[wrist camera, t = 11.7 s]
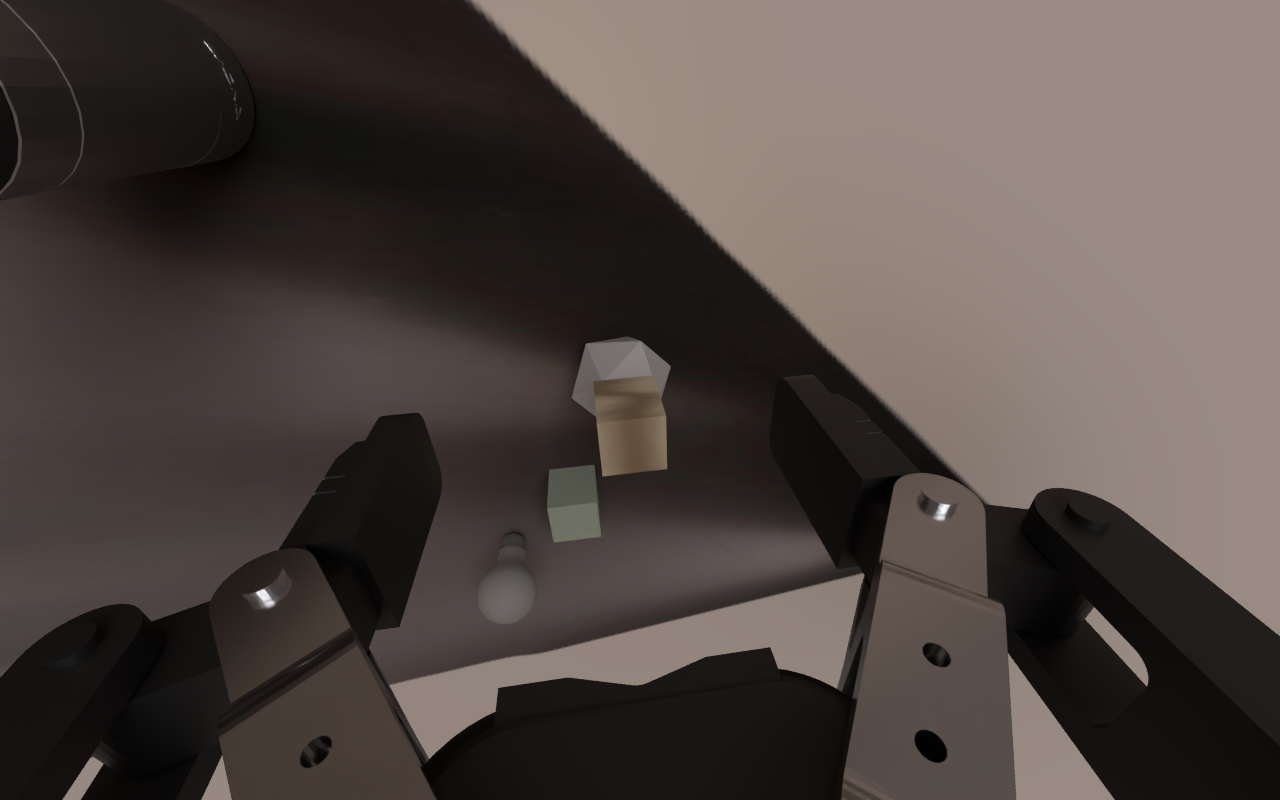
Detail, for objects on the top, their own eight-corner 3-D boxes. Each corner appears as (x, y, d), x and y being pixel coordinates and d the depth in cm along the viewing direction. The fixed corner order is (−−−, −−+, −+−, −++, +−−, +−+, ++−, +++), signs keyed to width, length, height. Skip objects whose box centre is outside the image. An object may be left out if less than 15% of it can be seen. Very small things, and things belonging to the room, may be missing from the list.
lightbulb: (522, 510, 56) (513, 591, 47) (549, 540, 59) (546, 622, 50) (477, 530, 57) (459, 614, 48) (507, 559, 60) (495, 643, 51)
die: (565, 325, 45) (547, 420, 42) (641, 302, 41) (628, 408, 37) (617, 363, 52) (605, 449, 48) (688, 347, 47) (681, 441, 43)
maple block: (598, 430, 42) (602, 476, 37) (593, 381, 39) (596, 423, 34) (655, 424, 43) (667, 468, 38) (653, 375, 40) (666, 415, 35)
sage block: (555, 502, 56) (553, 542, 51) (549, 469, 54) (547, 508, 48) (598, 497, 57) (601, 536, 52) (594, 464, 54) (596, 502, 49)
